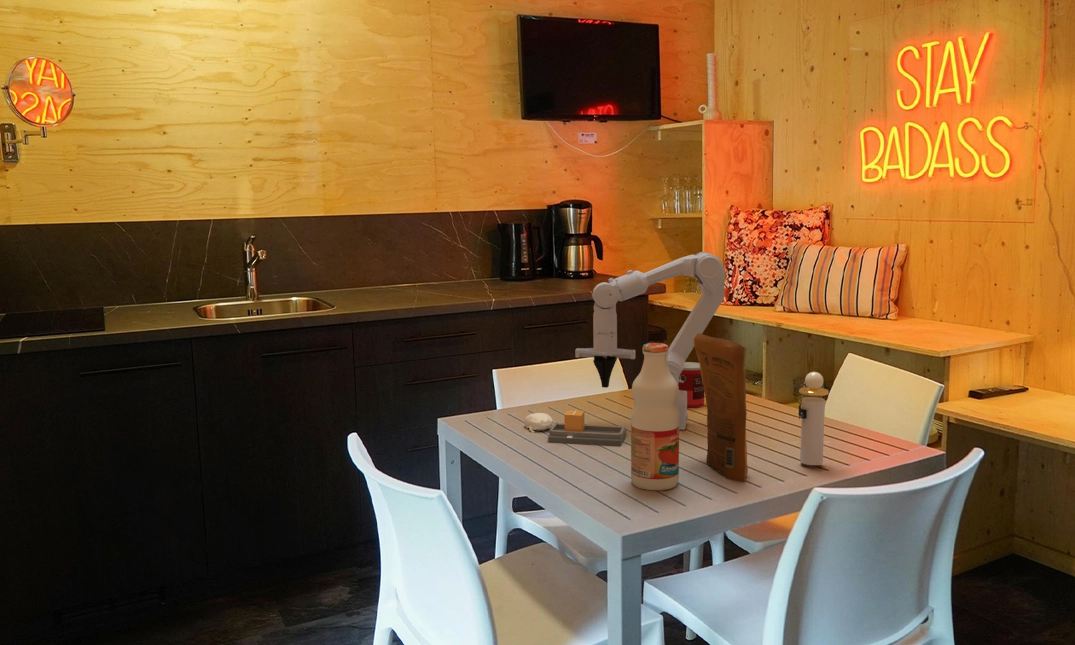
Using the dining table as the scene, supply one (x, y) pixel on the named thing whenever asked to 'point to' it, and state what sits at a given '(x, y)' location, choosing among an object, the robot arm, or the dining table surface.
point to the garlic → (538, 422)
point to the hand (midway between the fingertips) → (605, 386)
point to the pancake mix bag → (724, 404)
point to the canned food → (692, 384)
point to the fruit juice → (655, 423)
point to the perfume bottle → (812, 420)
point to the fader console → (588, 435)
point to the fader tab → (574, 421)
